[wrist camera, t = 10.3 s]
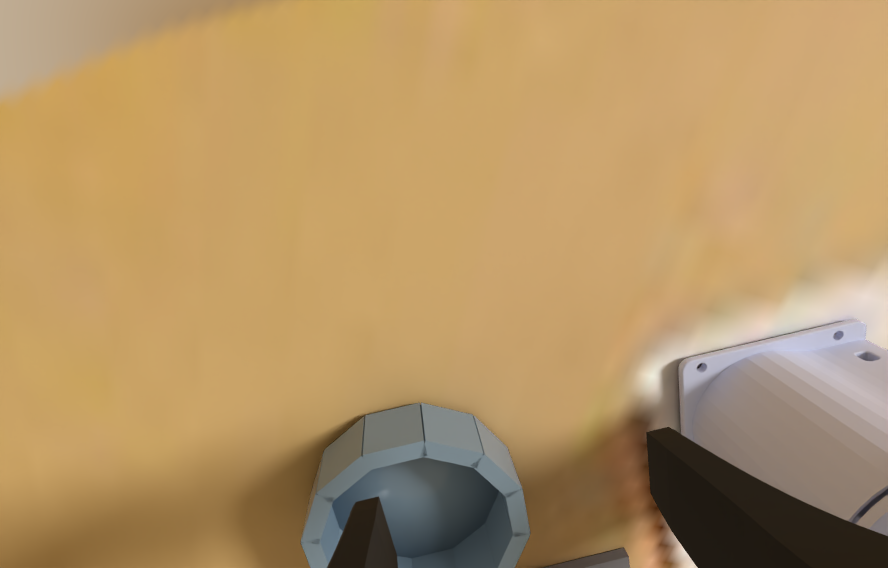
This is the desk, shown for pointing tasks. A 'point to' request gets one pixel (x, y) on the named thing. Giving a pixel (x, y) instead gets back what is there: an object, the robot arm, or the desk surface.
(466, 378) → the desk surface
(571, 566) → the mat
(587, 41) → the desk surface
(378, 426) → the bowl
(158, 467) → the desk surface
